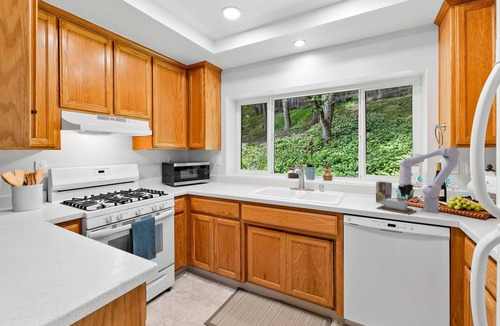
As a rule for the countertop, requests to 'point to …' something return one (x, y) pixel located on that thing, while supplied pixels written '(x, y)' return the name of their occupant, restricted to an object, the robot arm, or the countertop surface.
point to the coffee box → (383, 191)
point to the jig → (397, 210)
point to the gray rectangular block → (396, 204)
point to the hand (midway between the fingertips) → (405, 195)
